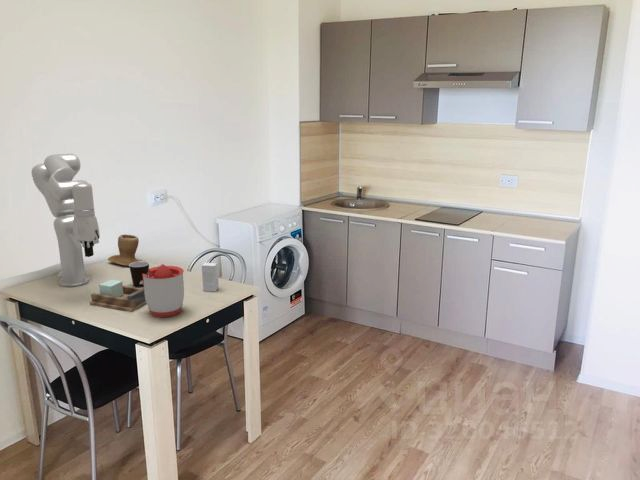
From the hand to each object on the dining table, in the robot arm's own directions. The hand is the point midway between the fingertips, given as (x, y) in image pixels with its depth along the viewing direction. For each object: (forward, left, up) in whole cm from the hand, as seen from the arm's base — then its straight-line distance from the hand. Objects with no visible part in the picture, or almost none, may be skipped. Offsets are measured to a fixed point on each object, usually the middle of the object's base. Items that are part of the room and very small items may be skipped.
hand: (89, 255), depth 225 cm
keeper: (+10, 0, -17) cm, 19 cm away
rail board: (+16, 0, -18) cm, 24 cm away
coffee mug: (+9, +21, -19) cm, 29 cm away
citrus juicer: (+38, -3, -19) cm, 42 cm away
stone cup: (-19, +44, -19) cm, 52 cm away
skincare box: (+42, +26, -19) cm, 53 cm away
